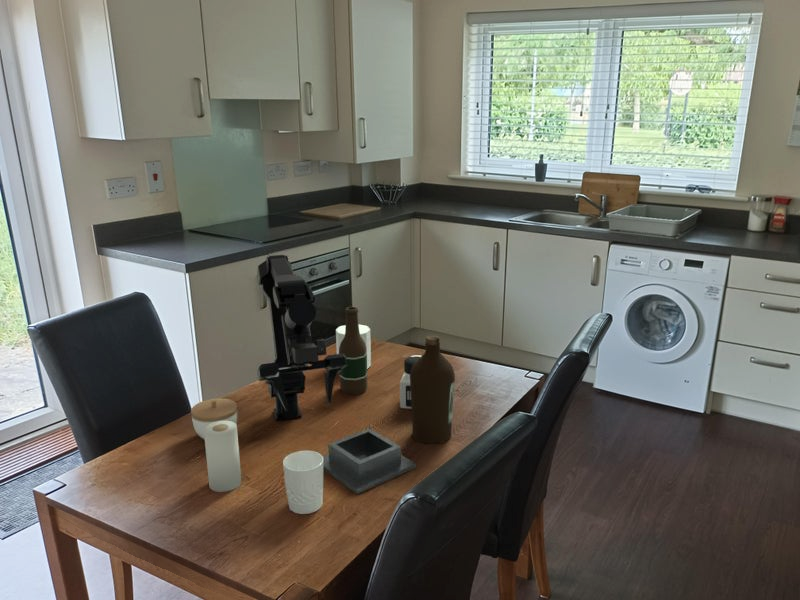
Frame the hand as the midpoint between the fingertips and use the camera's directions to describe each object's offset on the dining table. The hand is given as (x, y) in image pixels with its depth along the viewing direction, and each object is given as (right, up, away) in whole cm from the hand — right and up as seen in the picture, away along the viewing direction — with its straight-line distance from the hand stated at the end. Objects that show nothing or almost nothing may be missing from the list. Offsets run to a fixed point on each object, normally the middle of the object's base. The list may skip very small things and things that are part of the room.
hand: (308, 406), depth 141 cm
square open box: (+12, -14, +6) cm, 19 cm away
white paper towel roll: (-17, -16, 0) cm, 24 cm away
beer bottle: (+7, -3, +46) cm, 46 cm away
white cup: (+1, -18, -8) cm, 20 cm away
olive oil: (+27, -10, +20) cm, 35 cm away
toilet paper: (+5, +2, +63) cm, 63 cm away
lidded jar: (-25, -11, +20) cm, 33 cm away
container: (+24, -5, +37) cm, 44 cm away
